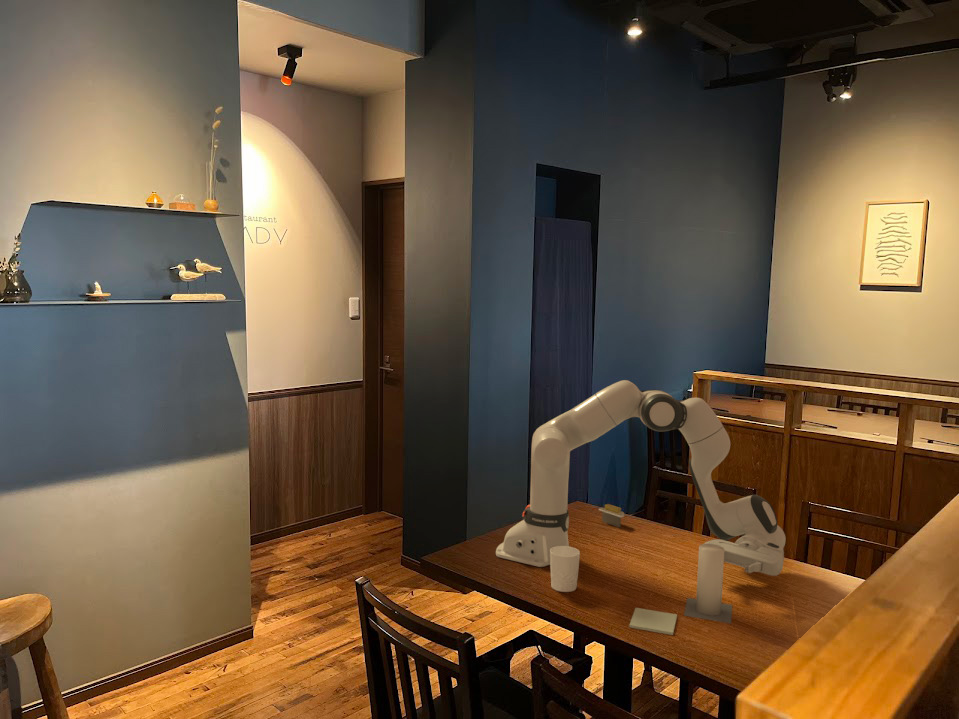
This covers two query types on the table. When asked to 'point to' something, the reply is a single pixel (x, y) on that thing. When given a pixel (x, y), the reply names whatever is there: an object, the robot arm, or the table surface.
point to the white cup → (564, 568)
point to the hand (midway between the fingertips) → (729, 564)
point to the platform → (612, 515)
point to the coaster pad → (653, 621)
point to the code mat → (722, 617)
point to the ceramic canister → (710, 579)
